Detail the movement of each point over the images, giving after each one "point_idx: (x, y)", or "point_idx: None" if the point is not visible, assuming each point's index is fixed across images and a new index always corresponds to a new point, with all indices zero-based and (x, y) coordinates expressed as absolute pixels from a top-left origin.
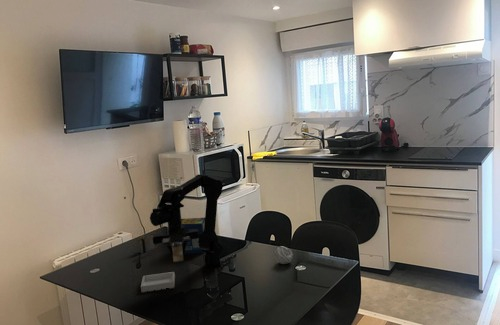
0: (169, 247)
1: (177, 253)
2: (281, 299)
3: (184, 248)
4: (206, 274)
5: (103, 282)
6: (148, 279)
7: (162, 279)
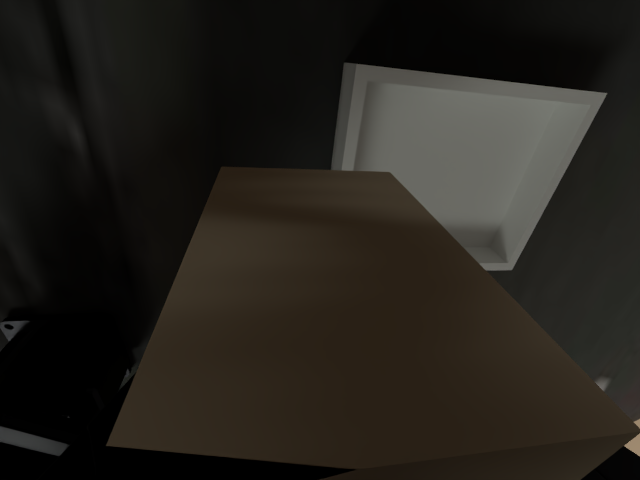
0: (606, 473)
1: (341, 248)
2: None
3: (114, 421)
4: (92, 222)
5: (629, 296)
6: (474, 249)
7: None
